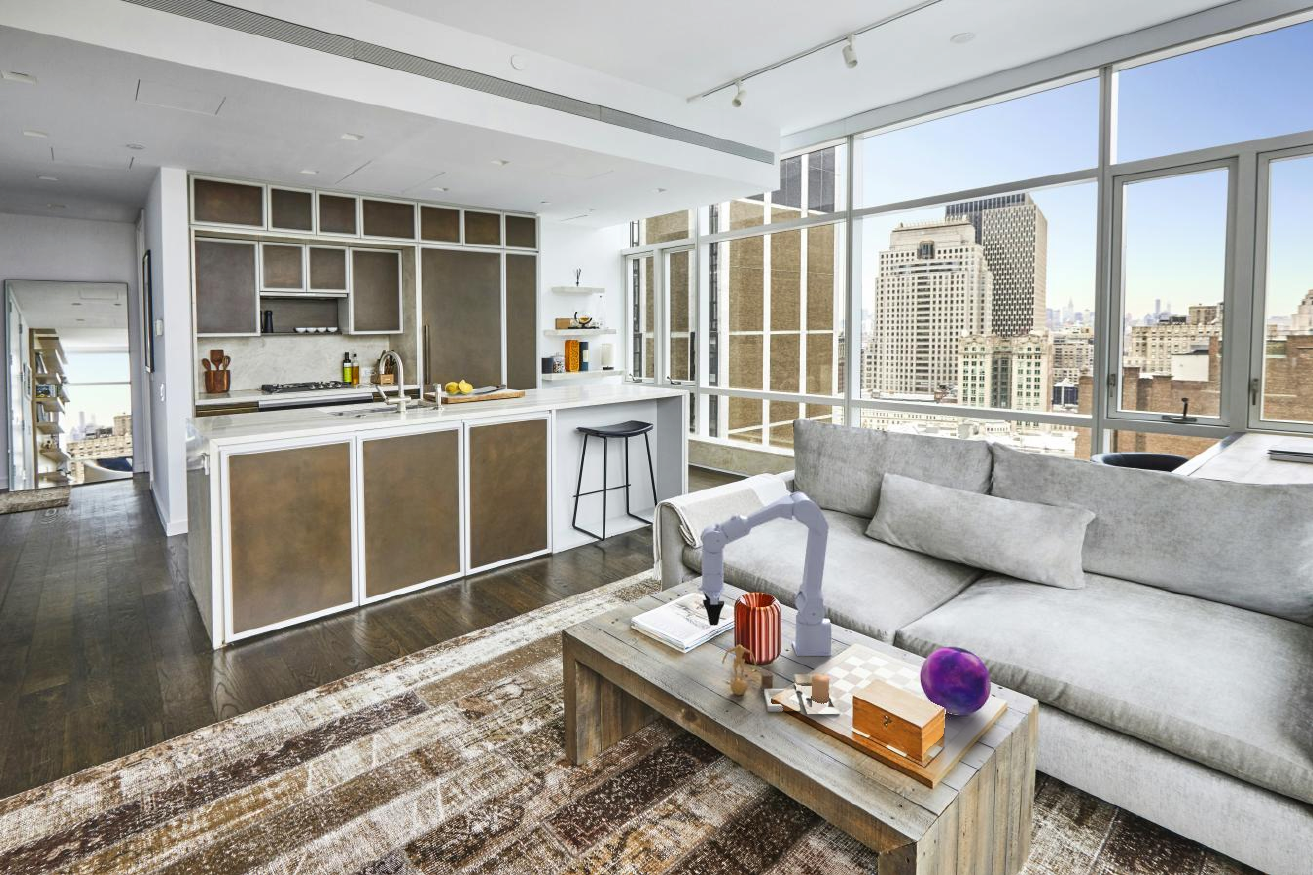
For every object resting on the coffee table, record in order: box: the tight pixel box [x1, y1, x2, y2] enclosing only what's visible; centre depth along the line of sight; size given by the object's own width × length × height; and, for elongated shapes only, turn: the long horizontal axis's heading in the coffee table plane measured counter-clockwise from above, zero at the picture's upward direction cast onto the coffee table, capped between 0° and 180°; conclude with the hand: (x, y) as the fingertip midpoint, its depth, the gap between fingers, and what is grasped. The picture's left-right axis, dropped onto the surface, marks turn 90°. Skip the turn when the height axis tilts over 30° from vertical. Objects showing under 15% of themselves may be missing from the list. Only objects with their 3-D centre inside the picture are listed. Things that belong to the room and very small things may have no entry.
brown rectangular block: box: [760, 670, 774, 692], centre depth 174 cm, size 2×2×4 cm
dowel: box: [811, 673, 830, 704], centre depth 166 cm, size 4×4×7 cm
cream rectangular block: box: [793, 673, 817, 686], centre depth 174 cm, size 7×4×2 cm, turn 88°
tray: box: [763, 688, 786, 713], centre depth 168 cm, size 8×8×2 cm
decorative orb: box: [920, 646, 992, 716], centre depth 162 cm, size 15×15×15 cm
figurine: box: [721, 644, 757, 696], centre depth 172 cm, size 8×6×12 cm
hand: (713, 618), depth 191 cm, fingers open, 7 cm apart
